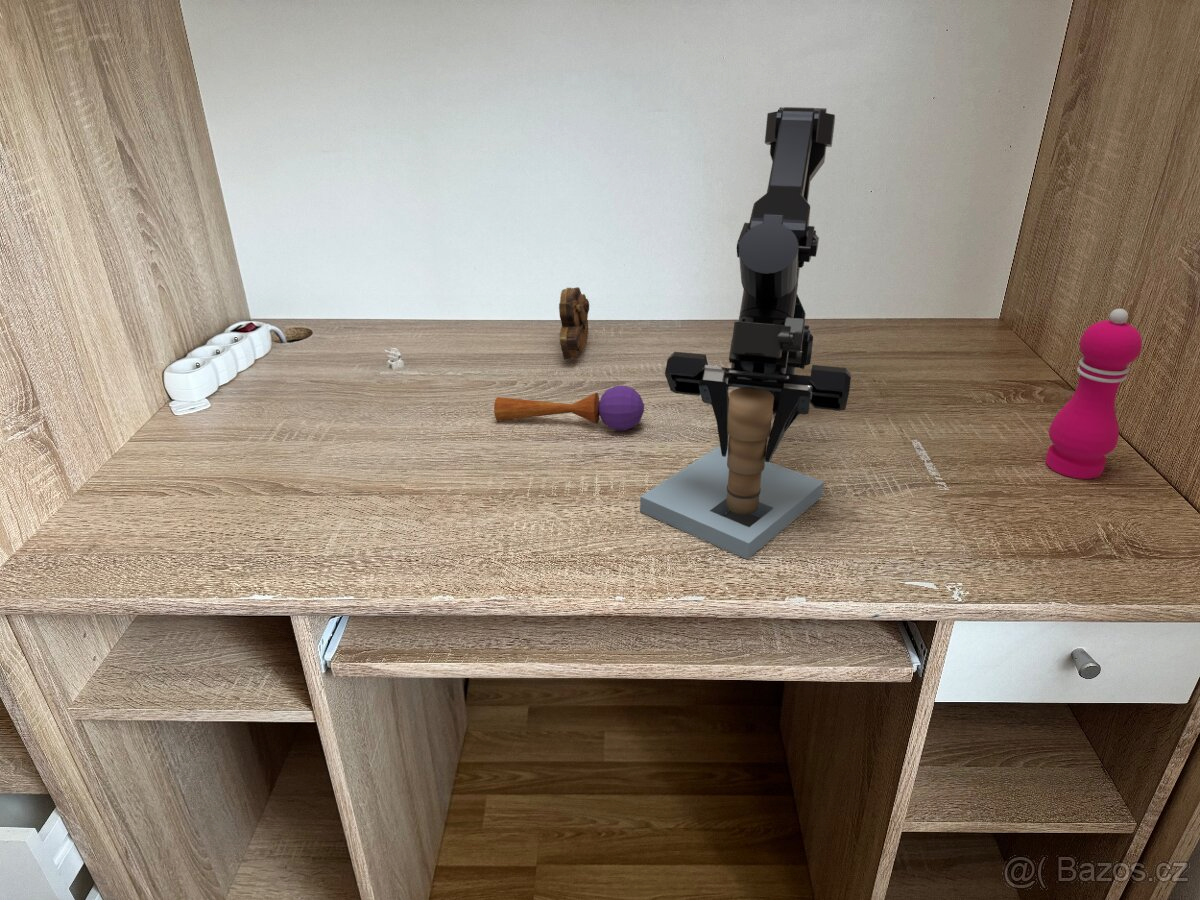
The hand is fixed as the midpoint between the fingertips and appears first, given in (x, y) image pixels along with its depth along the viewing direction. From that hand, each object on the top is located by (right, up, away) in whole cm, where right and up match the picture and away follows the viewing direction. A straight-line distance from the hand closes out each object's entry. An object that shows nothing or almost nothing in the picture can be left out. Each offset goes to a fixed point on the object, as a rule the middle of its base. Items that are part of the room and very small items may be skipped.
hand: (745, 458), depth 85 cm
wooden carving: (-19, +17, +52) cm, 58 cm away
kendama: (-19, +4, +28) cm, 34 cm away
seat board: (0, -5, +9) cm, 11 cm away
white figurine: (-48, +13, +46) cm, 68 cm away
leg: (0, -5, +4) cm, 7 cm away
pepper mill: (+43, -1, +16) cm, 46 cm away
